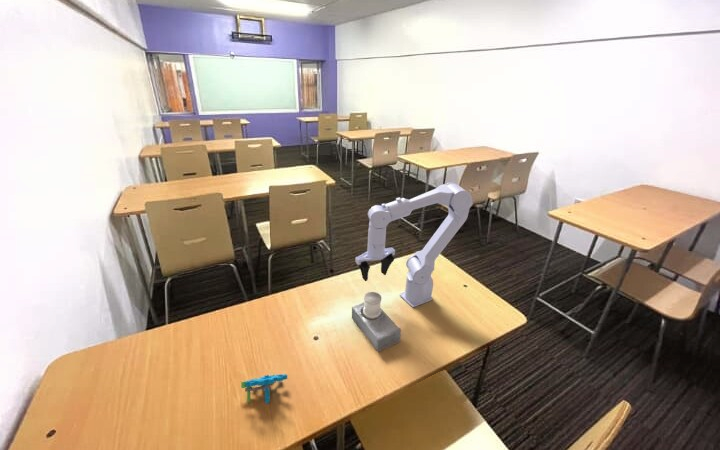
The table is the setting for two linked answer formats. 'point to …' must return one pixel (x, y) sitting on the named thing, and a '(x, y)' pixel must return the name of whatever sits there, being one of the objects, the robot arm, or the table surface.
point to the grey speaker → (377, 328)
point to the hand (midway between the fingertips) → (374, 276)
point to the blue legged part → (262, 381)
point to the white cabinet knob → (372, 305)
